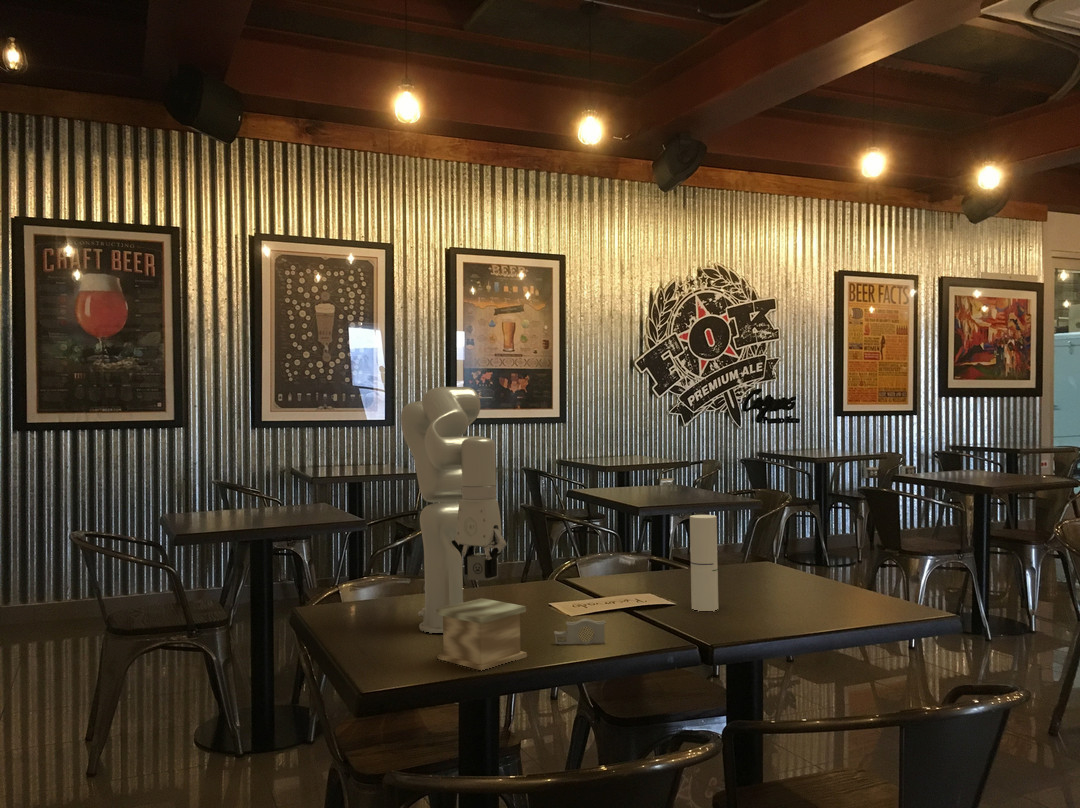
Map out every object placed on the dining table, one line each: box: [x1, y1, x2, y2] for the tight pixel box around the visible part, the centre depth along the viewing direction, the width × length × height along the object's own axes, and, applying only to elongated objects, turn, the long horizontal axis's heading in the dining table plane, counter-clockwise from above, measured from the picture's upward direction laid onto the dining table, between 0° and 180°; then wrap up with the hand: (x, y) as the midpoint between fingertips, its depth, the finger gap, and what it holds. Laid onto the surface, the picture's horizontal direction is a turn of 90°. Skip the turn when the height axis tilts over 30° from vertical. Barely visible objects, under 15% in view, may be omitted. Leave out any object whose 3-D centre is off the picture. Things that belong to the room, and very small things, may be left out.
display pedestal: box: [436, 597, 528, 672], centre depth 198 cm, size 14×14×11 cm
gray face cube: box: [467, 552, 499, 581], centre depth 198 cm, size 5×5×5 cm
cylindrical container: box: [689, 514, 719, 612], centre depth 242 cm, size 7×7×25 cm
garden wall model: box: [553, 617, 607, 645], centre depth 209 cm, size 12×2×6 cm, turn 92°
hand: (480, 574), depth 198 cm, fingers closed on gray face cube, 5 cm apart
